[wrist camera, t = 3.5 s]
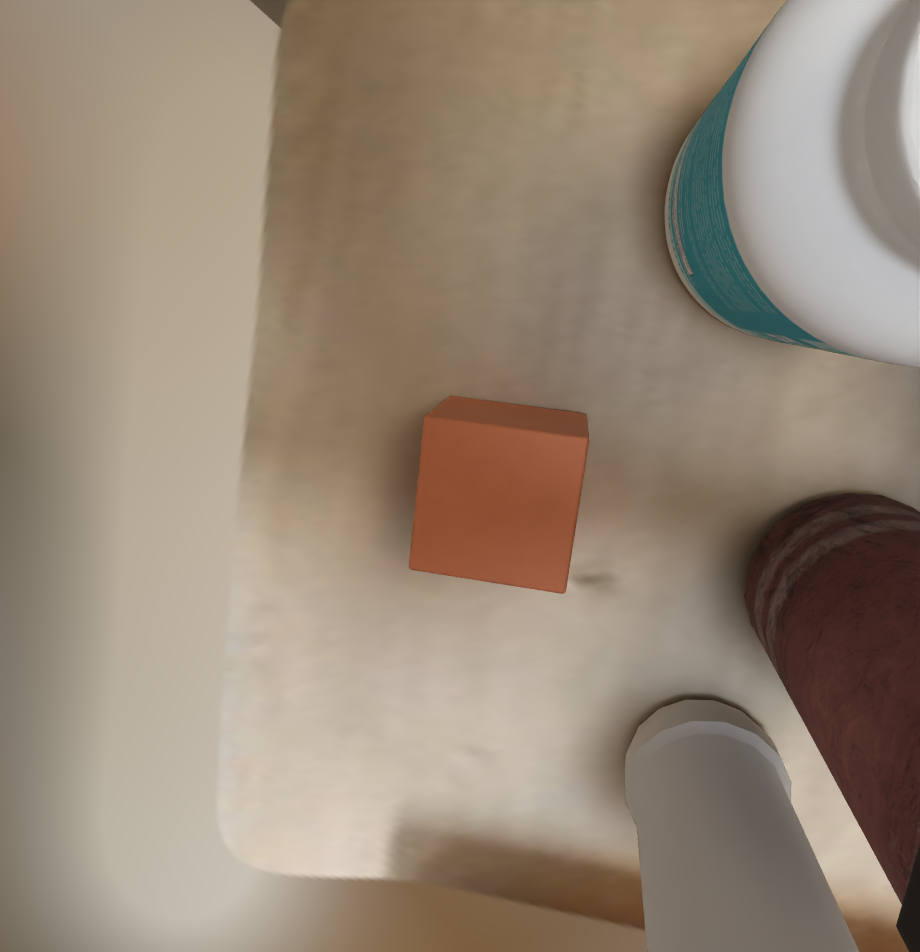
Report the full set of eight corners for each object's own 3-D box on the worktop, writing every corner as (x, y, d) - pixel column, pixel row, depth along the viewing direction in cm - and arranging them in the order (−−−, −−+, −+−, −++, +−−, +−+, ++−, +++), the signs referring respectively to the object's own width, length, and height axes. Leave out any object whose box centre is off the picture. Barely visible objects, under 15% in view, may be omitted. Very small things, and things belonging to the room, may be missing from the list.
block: (449, 395, 25) (423, 415, 21) (587, 413, 25) (589, 437, 20) (435, 525, 26) (408, 570, 22) (566, 545, 26) (564, 595, 21)
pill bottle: (723, 383, 24) (904, 487, 11) (618, 155, 23) (676, -35, 10) (977, 263, 22) (1561, 214, 9) (875, 11, 21) (1364, -454, 8)
